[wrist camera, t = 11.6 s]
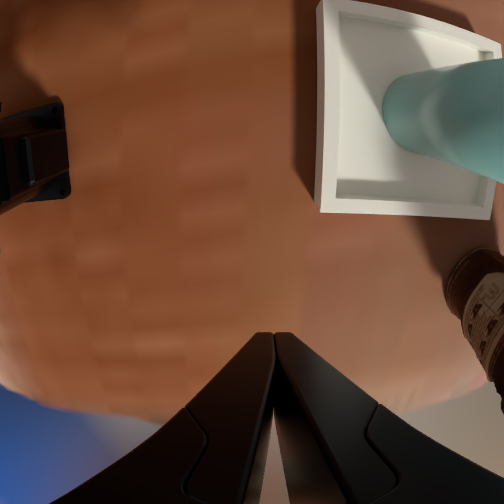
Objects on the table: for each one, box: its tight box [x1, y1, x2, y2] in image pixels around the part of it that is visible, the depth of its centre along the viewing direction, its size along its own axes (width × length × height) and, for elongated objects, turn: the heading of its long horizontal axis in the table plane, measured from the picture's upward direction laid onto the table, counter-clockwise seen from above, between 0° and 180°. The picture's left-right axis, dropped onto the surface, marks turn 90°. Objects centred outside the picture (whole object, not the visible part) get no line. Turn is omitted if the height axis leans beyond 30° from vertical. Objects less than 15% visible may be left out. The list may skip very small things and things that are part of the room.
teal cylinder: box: [382, 58, 504, 184], centre depth 10 cm, size 5×5×12 cm
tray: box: [314, 0, 502, 220], centre depth 16 cm, size 12×12×2 cm
